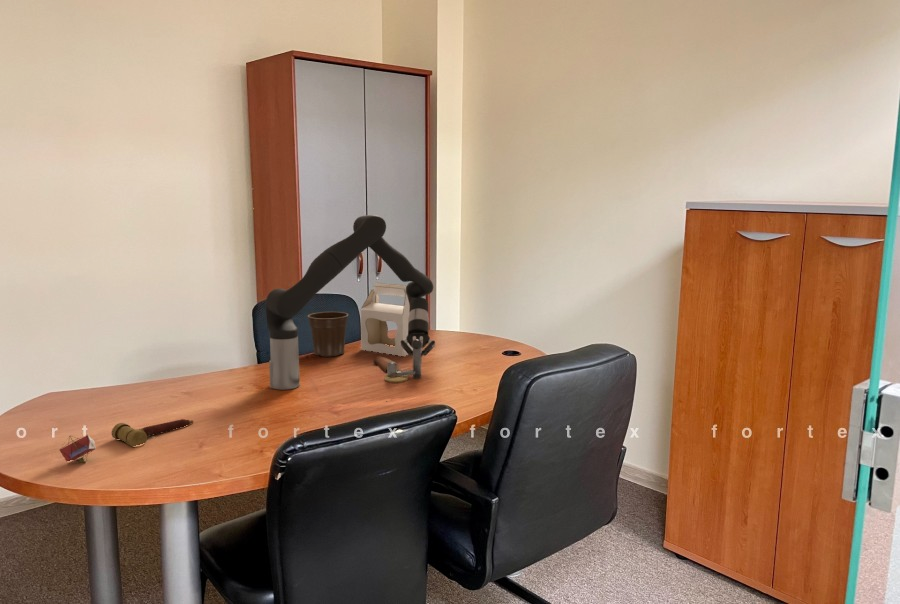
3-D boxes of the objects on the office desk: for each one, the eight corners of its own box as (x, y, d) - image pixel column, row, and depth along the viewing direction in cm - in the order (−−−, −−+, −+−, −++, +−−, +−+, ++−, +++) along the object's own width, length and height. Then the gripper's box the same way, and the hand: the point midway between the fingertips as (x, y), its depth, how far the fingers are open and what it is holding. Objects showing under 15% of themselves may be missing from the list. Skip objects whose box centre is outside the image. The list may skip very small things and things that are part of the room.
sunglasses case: (408, 374, 247) (399, 360, 245) (392, 385, 245) (382, 371, 243) (394, 363, 263) (386, 349, 261) (379, 373, 262) (370, 359, 260)
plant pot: (304, 351, 282) (303, 312, 280) (342, 347, 289) (341, 310, 286) (314, 360, 268) (313, 319, 265) (354, 356, 274) (353, 316, 272)
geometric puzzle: (55, 462, 161) (75, 432, 163) (51, 453, 167) (71, 424, 168) (83, 474, 165) (103, 444, 167) (79, 464, 171) (98, 436, 172)
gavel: (183, 410, 197) (203, 417, 191) (183, 425, 198) (203, 433, 192) (111, 424, 181) (130, 432, 175) (111, 441, 181) (130, 450, 175)
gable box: (360, 350, 285) (359, 283, 280) (380, 344, 296) (379, 280, 291) (403, 357, 273) (403, 288, 269) (422, 350, 284) (422, 284, 280)
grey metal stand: (388, 383, 230) (387, 344, 228) (382, 377, 238) (381, 339, 236) (425, 379, 235) (425, 341, 233) (418, 374, 242) (418, 336, 240)
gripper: (400, 318, 248) (398, 359, 237) (436, 318, 248) (436, 359, 238) (400, 329, 254) (399, 369, 244) (436, 329, 254) (436, 370, 244)
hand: (417, 364), depth 241 cm, fingers closed
